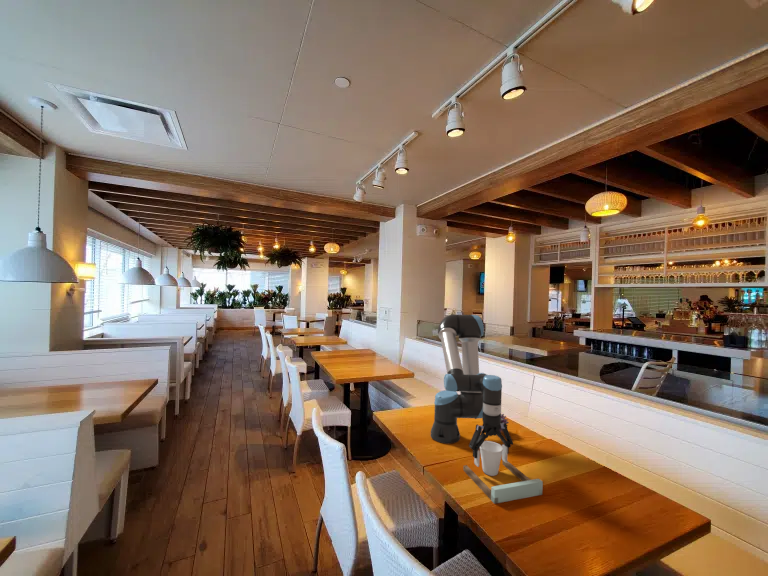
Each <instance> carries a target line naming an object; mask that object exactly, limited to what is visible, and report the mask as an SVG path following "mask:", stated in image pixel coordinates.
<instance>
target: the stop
mask: <svg viewBox="0 0 768 576" xmlns="http://www.w3.org/2000/svg"><path fill="white" fill-rule="evenodd" d="M543 482H544V481H543V480H541V479H540V478H533V479H530V480H527V481H522V480H521V481H517V482H511V483H506V484H504V483H503V484H499V485H494V486H491V488H490V490H491V495H492V496H493V497H492V496H491V499H492V498H493V499H492V500H493V501H494V502H495V501H497V500H498V503H497V502H496V503H495V504H501V503H504V502H511V501H514V500H515V501H516V500H522V499H526V498H532V497H537V496H540V495H539V492H540V494H542V495H543V489H544V487H543V484H544V483H543ZM539 490H540V491H539ZM494 498H496V499H495V500H494ZM497 498H498V499H497ZM492 500H490V501H491V502H492Z"/></svg>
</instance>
